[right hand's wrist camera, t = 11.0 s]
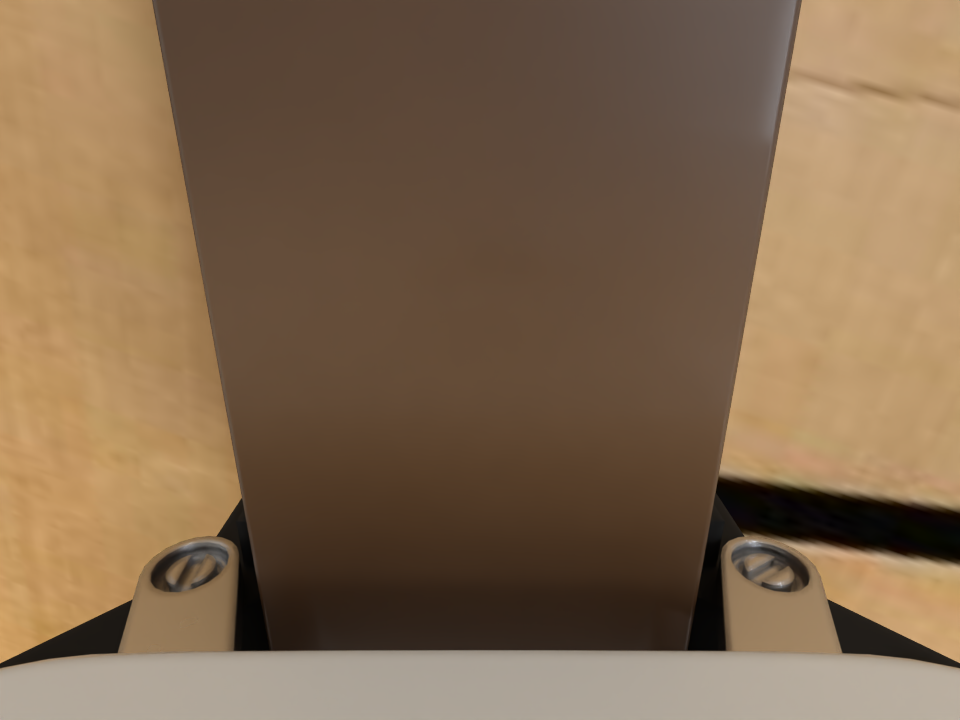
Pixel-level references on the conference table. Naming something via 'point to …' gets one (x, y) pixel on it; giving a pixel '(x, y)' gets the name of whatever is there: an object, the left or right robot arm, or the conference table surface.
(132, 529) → the conference table surface
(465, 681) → the right robot arm
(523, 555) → the beam
